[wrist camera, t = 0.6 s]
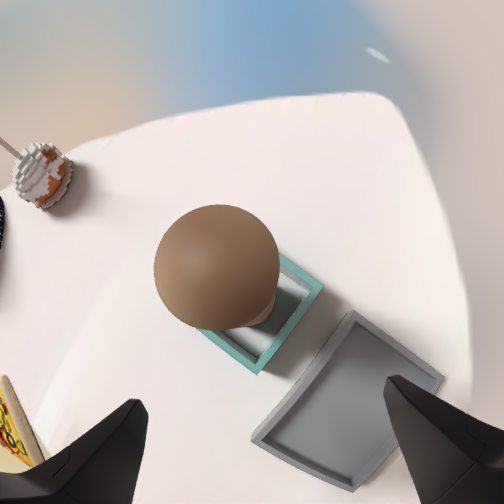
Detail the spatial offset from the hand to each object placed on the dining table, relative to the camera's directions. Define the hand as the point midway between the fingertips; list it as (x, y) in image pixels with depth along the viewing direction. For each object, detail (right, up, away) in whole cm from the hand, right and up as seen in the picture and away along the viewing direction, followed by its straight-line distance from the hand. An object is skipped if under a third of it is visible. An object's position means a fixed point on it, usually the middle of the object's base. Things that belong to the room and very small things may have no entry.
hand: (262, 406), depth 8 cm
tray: (+9, -9, +12) cm, 17 cm away
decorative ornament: (-28, +15, +21) cm, 38 cm away
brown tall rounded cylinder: (-1, +1, +15) cm, 15 cm away
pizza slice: (-40, -23, +13) cm, 48 cm away
